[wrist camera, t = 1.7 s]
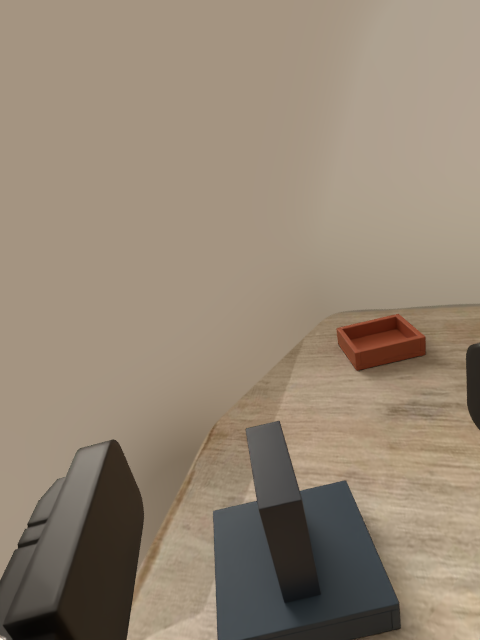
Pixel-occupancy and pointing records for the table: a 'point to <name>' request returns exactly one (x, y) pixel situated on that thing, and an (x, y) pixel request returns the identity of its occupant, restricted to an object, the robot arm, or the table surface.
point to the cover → (297, 558)
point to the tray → (380, 341)
